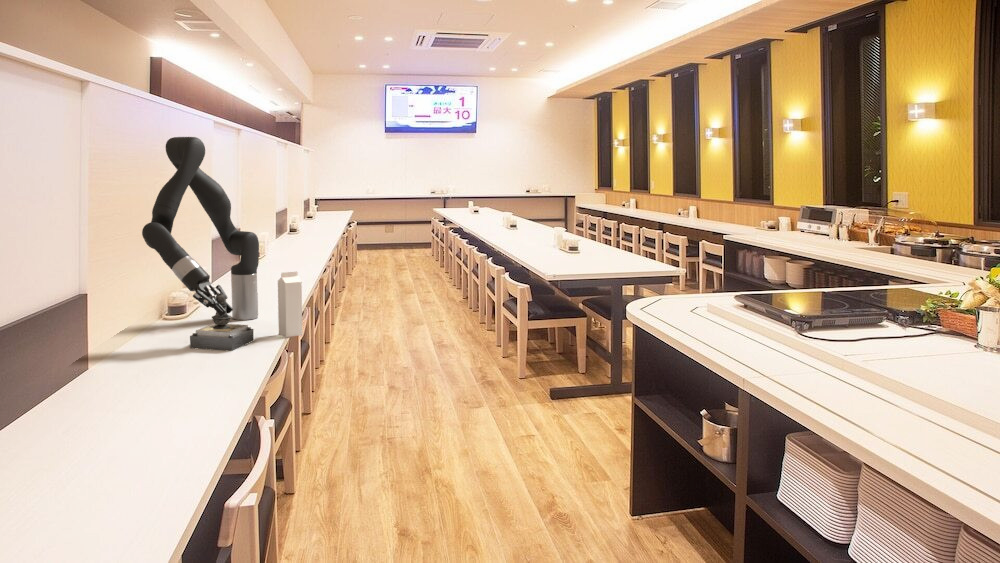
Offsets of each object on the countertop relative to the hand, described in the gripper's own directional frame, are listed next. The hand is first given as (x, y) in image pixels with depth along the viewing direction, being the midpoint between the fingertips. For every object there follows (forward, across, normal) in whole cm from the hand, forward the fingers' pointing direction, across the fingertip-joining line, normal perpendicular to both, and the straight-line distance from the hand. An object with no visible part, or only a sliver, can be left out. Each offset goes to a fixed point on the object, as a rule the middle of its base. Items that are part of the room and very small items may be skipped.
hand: (227, 312), depth 220 cm
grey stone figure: (+2, 0, +5) cm, 6 cm away
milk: (+17, +18, -2) cm, 25 cm away
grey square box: (+6, 0, +9) cm, 11 cm away
